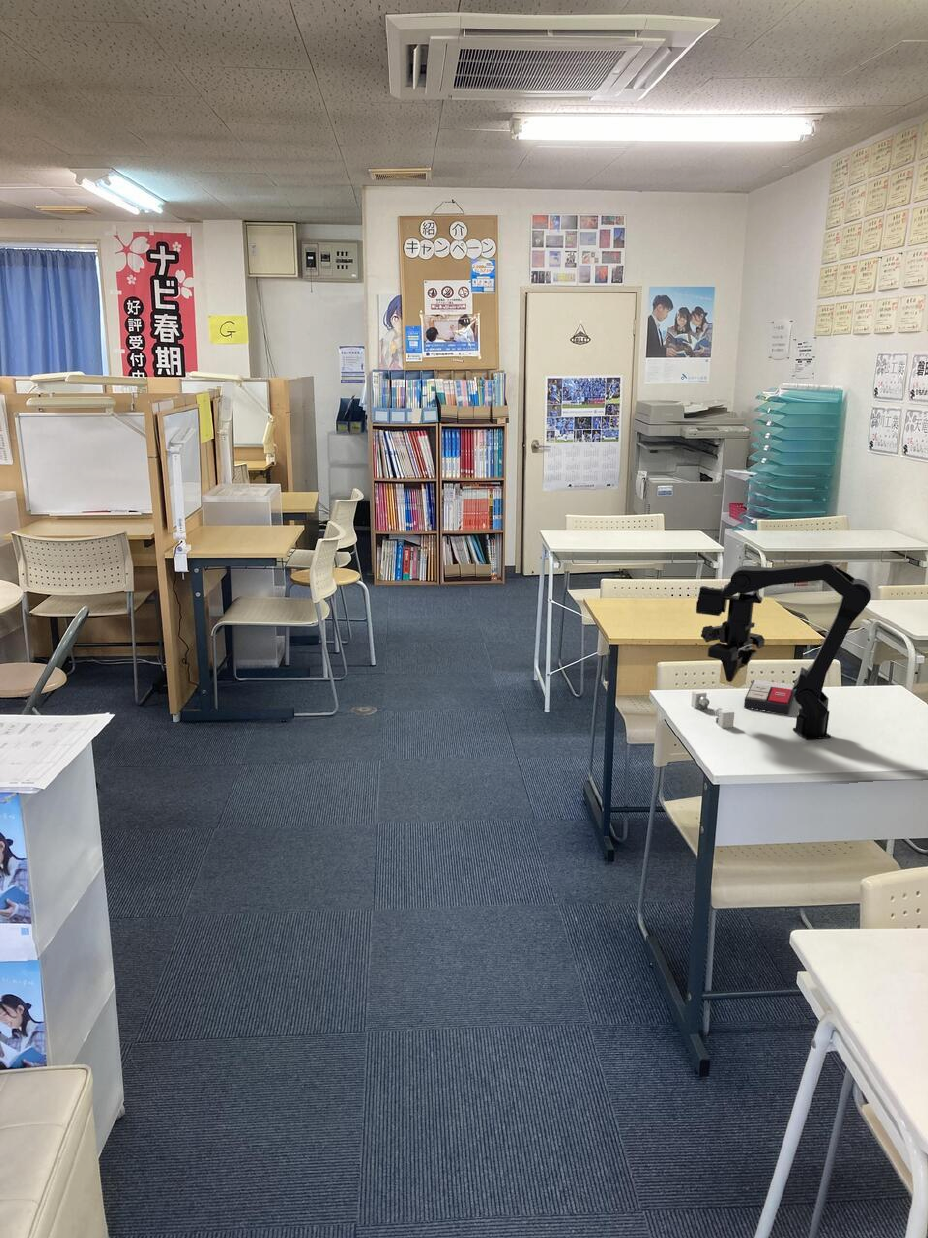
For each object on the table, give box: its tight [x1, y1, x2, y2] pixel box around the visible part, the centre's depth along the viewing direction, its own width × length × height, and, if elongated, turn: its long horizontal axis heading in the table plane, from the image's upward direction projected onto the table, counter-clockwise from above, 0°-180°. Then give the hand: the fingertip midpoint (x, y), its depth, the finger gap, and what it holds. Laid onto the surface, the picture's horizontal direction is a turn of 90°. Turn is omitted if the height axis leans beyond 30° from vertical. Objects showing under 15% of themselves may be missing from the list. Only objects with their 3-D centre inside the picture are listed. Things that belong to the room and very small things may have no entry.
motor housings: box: [691, 690, 735, 729], centre depth 233 cm, size 3×16×4 cm, turn 14°
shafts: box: [697, 696, 724, 724], centre depth 233 cm, size 2×12×3 cm, turn 14°
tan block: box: [719, 662, 748, 689], centre depth 227 cm, size 4×5×6 cm
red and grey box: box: [743, 678, 795, 716], centre depth 244 cm, size 11×4×15 cm
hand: (733, 679), depth 227 cm, fingers closed on tan block, 4 cm apart
